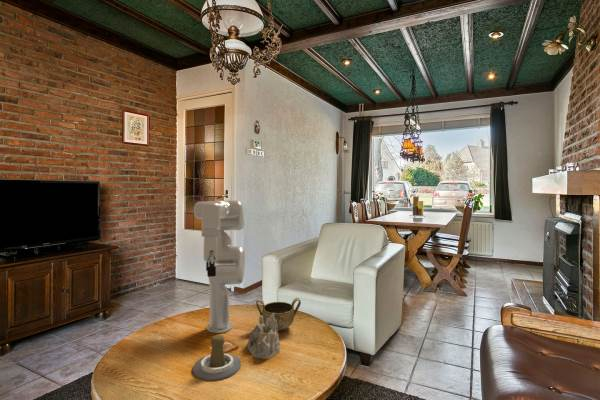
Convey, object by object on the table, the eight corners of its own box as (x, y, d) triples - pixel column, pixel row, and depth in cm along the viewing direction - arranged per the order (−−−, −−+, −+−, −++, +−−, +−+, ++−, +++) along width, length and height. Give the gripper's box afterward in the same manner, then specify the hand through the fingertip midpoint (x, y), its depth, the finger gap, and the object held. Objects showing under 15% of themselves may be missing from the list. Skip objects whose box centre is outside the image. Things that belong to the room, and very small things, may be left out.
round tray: (192, 359, 134) (192, 353, 134) (237, 352, 139) (237, 347, 139) (193, 384, 117) (193, 377, 117) (244, 375, 122) (244, 368, 122)
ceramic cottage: (255, 337, 154) (255, 306, 153) (286, 346, 147) (287, 314, 146) (236, 354, 140) (236, 320, 139) (269, 364, 133) (269, 329, 132)
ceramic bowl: (299, 321, 174) (299, 293, 174) (301, 335, 157) (302, 304, 157) (256, 322, 172) (257, 293, 172) (254, 336, 156) (255, 305, 155)
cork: (211, 360, 131) (211, 333, 131) (226, 360, 131) (226, 333, 131) (208, 368, 125) (208, 340, 125) (224, 368, 125) (224, 339, 125)
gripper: (200, 230, 144) (200, 269, 144) (202, 235, 127) (202, 279, 128) (218, 229, 146) (218, 268, 146) (222, 234, 130) (221, 278, 130)
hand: (210, 273), depth 137 cm, fingers open, 9 cm apart
